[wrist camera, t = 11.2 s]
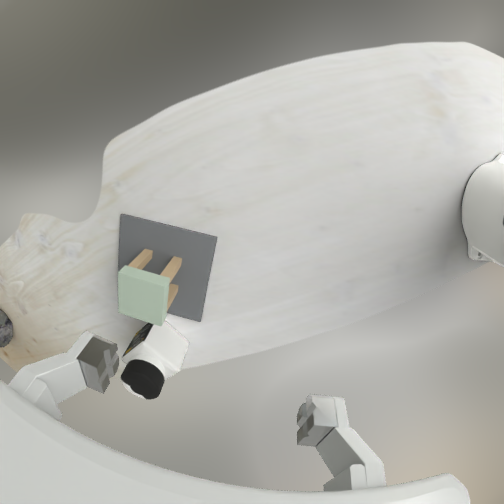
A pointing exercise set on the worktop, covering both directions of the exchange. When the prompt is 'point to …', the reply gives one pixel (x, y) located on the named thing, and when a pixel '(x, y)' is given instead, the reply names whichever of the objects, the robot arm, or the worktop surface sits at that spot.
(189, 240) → the mat
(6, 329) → the mineral rock
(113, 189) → the worktop surface
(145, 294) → the stool
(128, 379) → the medicine bottle
